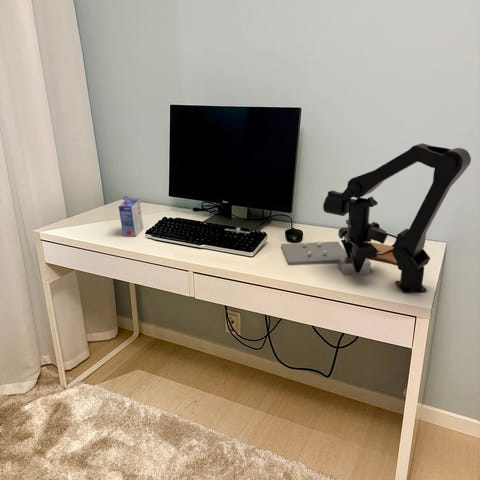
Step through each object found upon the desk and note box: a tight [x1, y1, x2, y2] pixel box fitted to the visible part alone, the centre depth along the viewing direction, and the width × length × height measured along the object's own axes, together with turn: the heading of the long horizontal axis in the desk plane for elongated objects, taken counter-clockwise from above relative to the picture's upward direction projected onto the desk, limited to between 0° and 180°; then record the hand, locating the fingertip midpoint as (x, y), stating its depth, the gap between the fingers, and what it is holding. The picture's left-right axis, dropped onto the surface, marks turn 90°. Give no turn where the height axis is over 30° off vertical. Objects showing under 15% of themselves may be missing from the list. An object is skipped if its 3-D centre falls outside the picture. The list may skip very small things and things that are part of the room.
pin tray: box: [280, 241, 347, 266], centre depth 145 cm, size 16×20×2 cm
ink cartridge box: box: [118, 194, 144, 237], centre depth 168 cm, size 10×6×14 cm, turn 174°
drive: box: [338, 257, 372, 277], centre depth 131 cm, size 5×8×4 cm, turn 93°
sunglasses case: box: [364, 241, 398, 266], centre depth 142 cm, size 18×7×7 cm, turn 56°
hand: (354, 268), depth 131 cm, fingers open, 5 cm apart
